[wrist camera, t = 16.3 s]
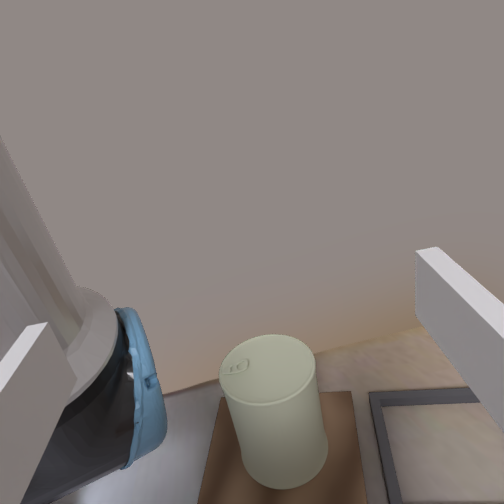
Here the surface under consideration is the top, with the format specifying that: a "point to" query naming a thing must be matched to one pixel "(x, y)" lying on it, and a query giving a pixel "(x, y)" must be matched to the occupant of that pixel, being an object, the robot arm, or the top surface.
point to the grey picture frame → (399, 400)
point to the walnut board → (300, 498)
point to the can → (275, 409)
